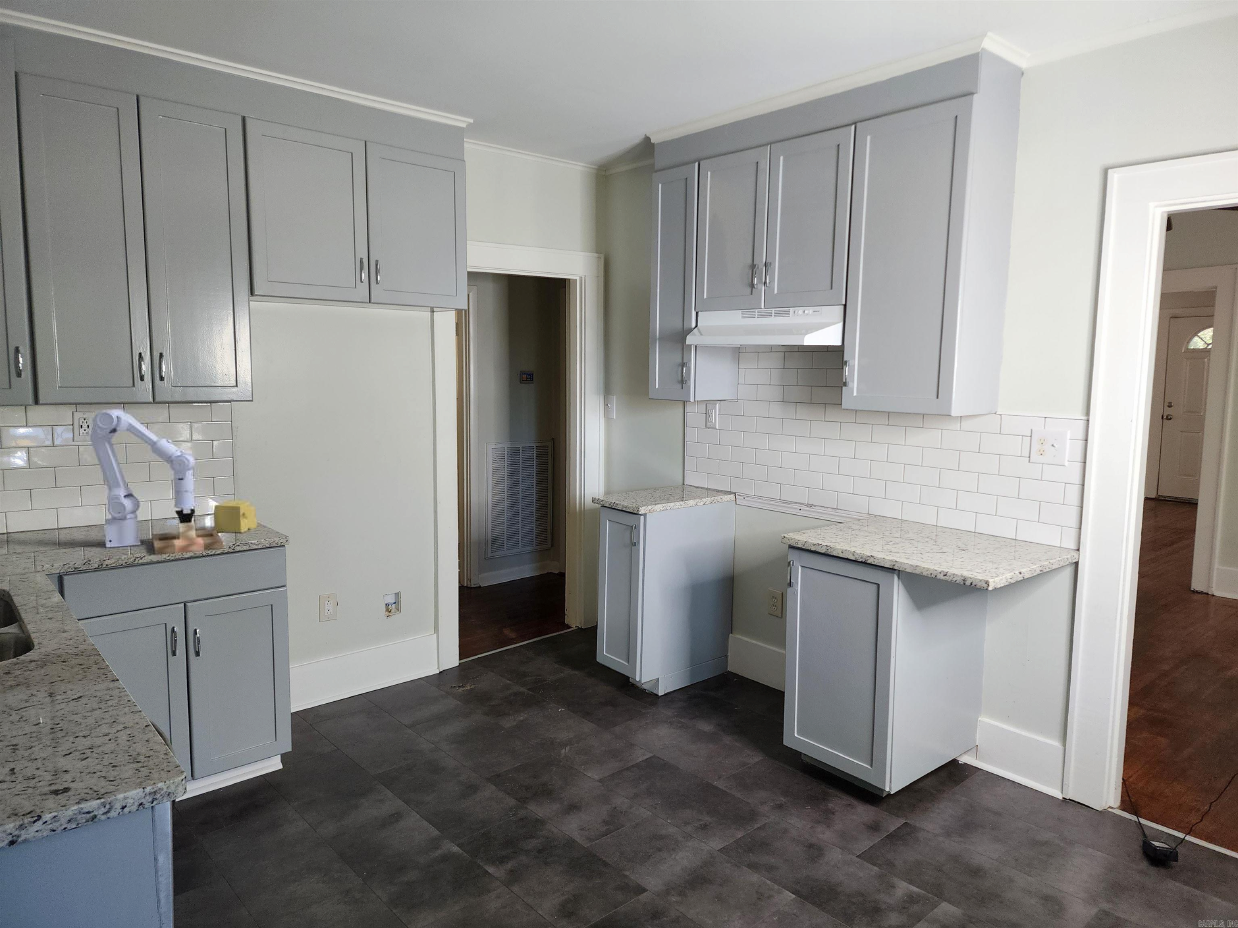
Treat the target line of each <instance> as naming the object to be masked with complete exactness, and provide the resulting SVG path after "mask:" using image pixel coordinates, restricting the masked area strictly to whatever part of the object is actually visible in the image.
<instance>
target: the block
mask: <svg viewBox="0 0 1238 928" xmlns="http://www.w3.org/2000/svg"><path fill="white" fill-rule="evenodd" d="M177 527H178V528H177V529H178V532H179V539H180V540H182V539H194V538H196V537H195V531H196V524H195V522H191V523H180V522H179V523H178V526H177Z"/></svg>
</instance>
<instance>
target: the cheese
mask: <svg viewBox="0 0 1238 928" xmlns="http://www.w3.org/2000/svg"><path fill="white" fill-rule="evenodd" d="M256 513H257V512H256V508H255V507H254V506H252V504H251V503H250V502H248V501H243V500H242V501H241V500H233V499H232V500H227V501H225V502H223V503H218V504H215V505H214V508H213V521H214V529H215V530H216V531H217V533H232V532H242V533H244V531H245V532H247V531H249V530H250V531H251V530H254V528H255V529H257V526H258V520H257V518H256V516H255V515H256ZM248 529H249V530H248Z"/></svg>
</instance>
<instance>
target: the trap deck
mask: <svg viewBox="0 0 1238 928" xmlns="http://www.w3.org/2000/svg"><path fill="white" fill-rule="evenodd" d="M195 537H196V538H194V539H182V540H180V539H179V531H174V532H162V533H152V534H151V543H152V545H153V551H154V555H155V556H156V555H165V554H169V555H170V554H177V553H187V552H200V551H202V552H203V551H211V550H223V549H224V543H223V542H224V540H222V538H221V536H220V534H219V532H217V531H216V530H215V528H214V529H201V530H200V529H199V530H195Z"/></svg>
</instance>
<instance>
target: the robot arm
mask: <svg viewBox="0 0 1238 928" xmlns="http://www.w3.org/2000/svg"><path fill="white" fill-rule="evenodd" d="M91 421H92V427H91V430H90V431H91V433H90V435H89V436H90V443H91V445H92V447H93V451H94V453H95V456H96V460H97V462H98V464H99V465H98V466H99V468H100V470H101V473H102V476H103V479H104V482H105V484H106V487H107V491H108V493H107V495H106V496H107V497H106V500H107V512H108V514H109V515H110V516H111V517H109V518H104V533H105V534H104V536H103V539H104V543H105V547H106V548H116V547H117V548H119V547H129V546H138V545H139V546H140V545H141V540H140V539H139V526H138V525H139V524H138V513H137V512H138V511H139V509H140V506H141V505H140V504H141V502H140V499H138V497H136V496H135V494H134V491H133V490H132V489H131V488H130V487H129V486H128V485H127V482H126V480H125V479H126V478H125V476H124V474H123V471H122V467H121V465H120V461H119V459H118V457H117V454H116V450H115V448H114V444H113V443H112V439H113V437H114V436H115V435H116V434H117V432H119V431H122V432H129V433H130V434H132V435H134V436H135V437H137V438H138V439H140V440H141V441H142V442H144V443H146V444H147V445H149V446H150V449H151V452H152V453H153V454H155V455H156V457H158V458H160V459H161V460H162V461H163V462H165V463H167V464H168V465H169V467H170V469H171V471H172V472H173V493H174V505H173V507H174V508H176V509H179V510H175V511H174V512H175V514H176V516H177V517H178V520H179V524H180V523H192V520H193V517H194V516H195V513H196V510H195V508H194V507H197V506H199V502H195V483H194V482H195V479H194V478H195V477H194V467H195V466H196V460H195V457H194V456H192V454H191V453H187V452H185V450H183V449H180V448H178V447H177V446H176V445H174V444H173V441H172V440H171V439H166V438H158V437H157V436H156V435H155V434H154V433H152V432H151V431H150V430H149V429H147V427H145V426H144V425H143V424H142V423H140V422H139V421H137V419H135V417H133V416H132V415H131V414H130V413H126V411H125V410H123V409H120V408H113V409H103V410H101V411H99V412H97V413H96V415H95V416H94V417H93V418H92V420H91Z"/></svg>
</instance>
